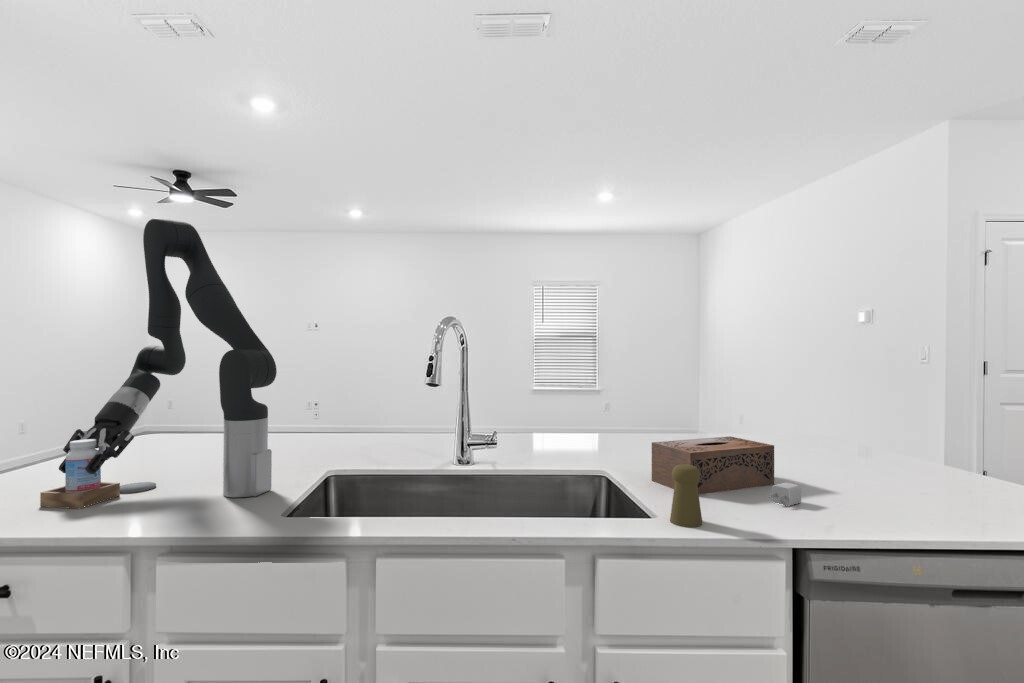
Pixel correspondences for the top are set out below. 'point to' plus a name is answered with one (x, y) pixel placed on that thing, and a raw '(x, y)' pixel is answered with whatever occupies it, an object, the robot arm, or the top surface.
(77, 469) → the pill bottle
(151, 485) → the slate coaster
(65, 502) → the wooden tray
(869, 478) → the top surface
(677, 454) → the tissue box cover
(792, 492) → the usb wall charger
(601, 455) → the top surface
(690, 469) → the cork
